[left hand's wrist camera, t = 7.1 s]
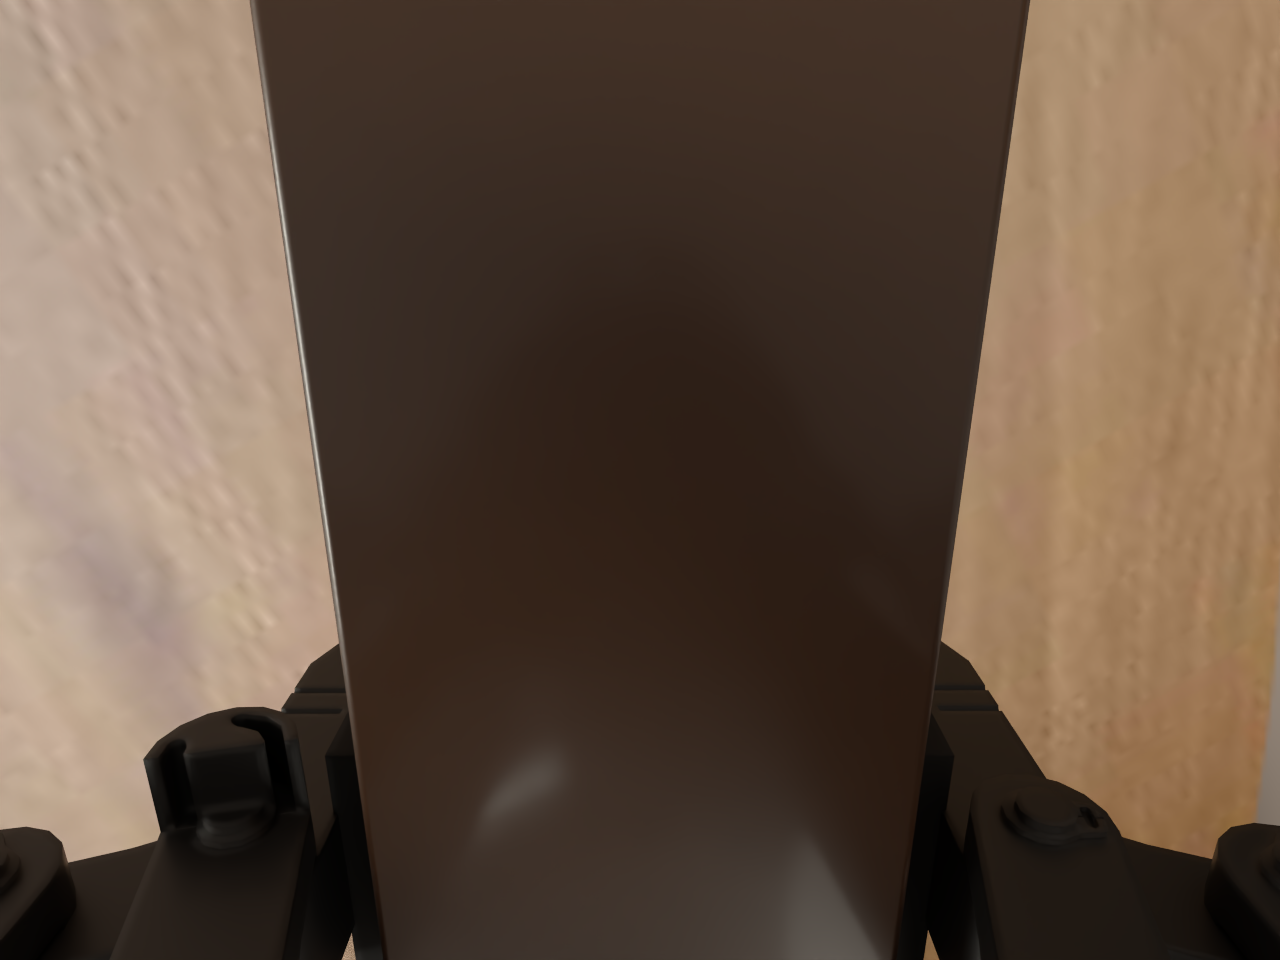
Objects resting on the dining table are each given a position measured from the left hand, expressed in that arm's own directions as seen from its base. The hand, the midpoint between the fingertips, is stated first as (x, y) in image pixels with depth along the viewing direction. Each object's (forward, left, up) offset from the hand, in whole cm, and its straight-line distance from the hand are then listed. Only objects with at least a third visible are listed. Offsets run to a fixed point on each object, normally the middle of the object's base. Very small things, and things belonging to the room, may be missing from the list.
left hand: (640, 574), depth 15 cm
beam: (+10, 0, 0) cm, 10 cm away
